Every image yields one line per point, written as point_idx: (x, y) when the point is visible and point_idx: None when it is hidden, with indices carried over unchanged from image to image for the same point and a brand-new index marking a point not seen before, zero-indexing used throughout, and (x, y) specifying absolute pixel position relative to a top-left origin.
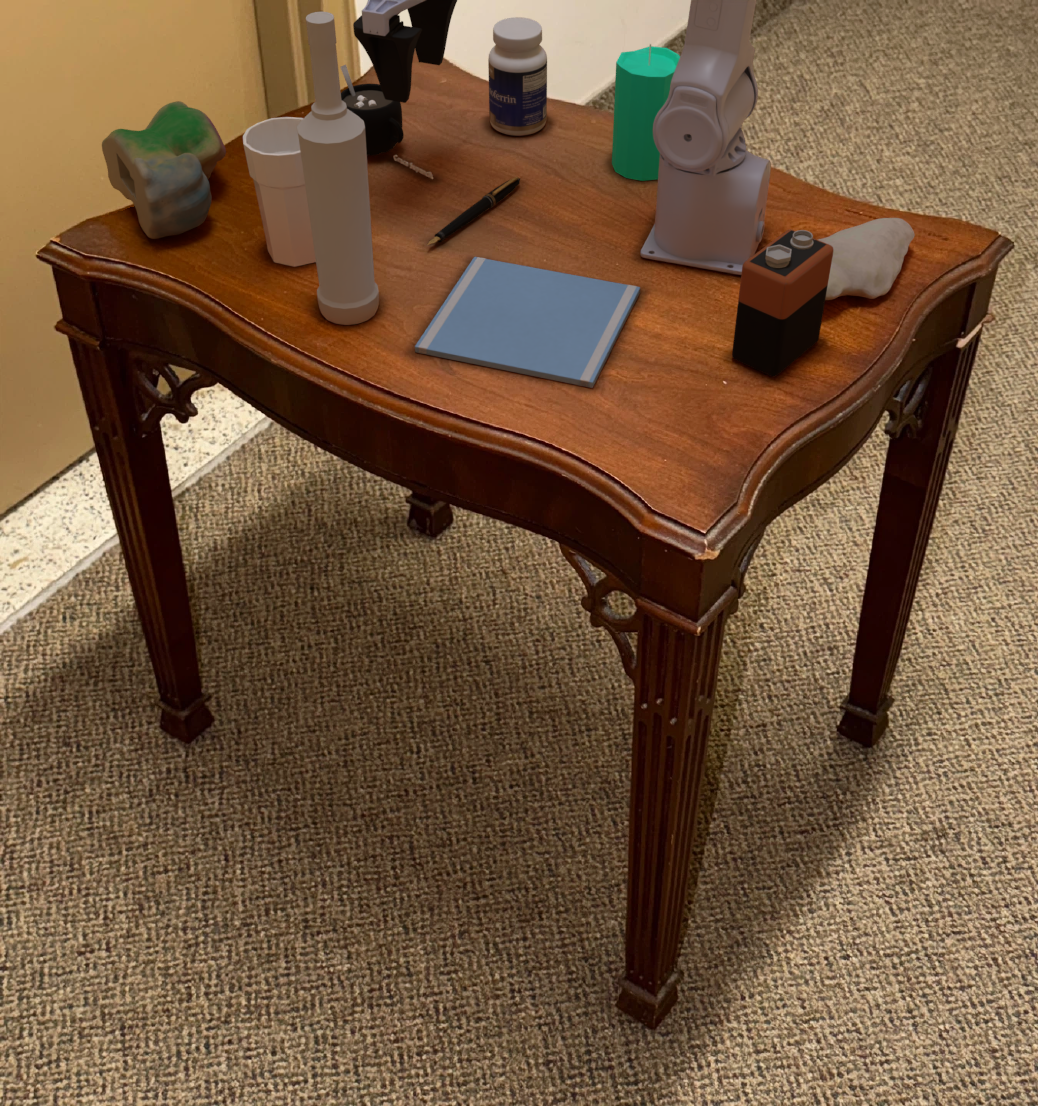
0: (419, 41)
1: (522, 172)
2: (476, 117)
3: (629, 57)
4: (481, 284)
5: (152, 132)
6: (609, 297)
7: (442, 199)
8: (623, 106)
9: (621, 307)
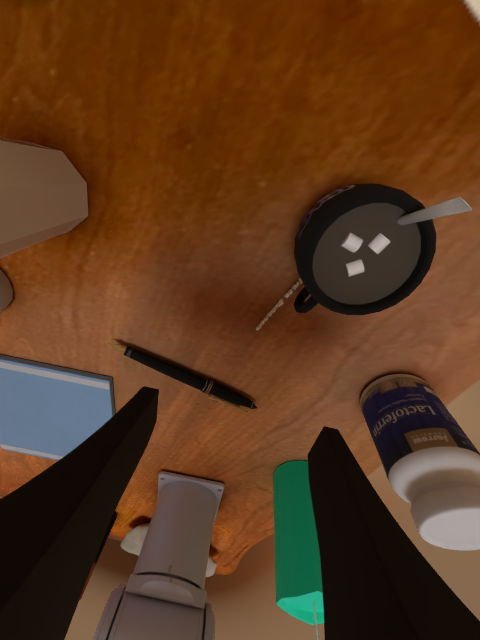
0: (334, 474)
1: (282, 403)
2: (419, 356)
3: None
4: (70, 389)
5: None
6: None
7: (216, 340)
8: (287, 540)
9: None
